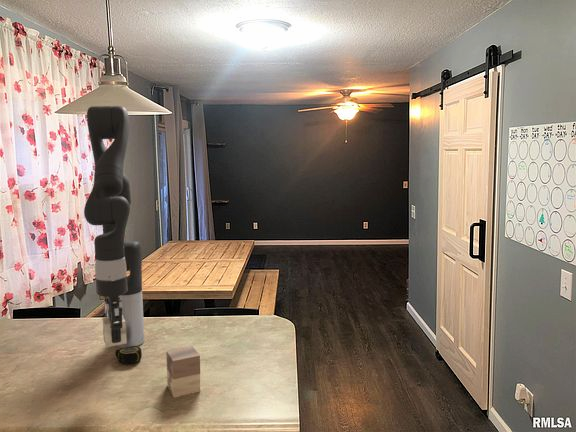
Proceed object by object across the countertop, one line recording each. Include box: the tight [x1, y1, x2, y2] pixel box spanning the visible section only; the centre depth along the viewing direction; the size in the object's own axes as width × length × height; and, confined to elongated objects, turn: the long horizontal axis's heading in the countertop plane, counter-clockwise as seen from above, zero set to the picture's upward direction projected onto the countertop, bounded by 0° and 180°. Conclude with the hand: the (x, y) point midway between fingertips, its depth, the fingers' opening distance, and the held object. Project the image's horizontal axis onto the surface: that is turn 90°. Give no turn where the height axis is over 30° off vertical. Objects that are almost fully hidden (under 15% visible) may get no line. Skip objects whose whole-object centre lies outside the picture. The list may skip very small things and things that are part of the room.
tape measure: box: [114, 345, 143, 364], centre depth 148 cm, size 7×7×4 cm
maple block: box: [101, 315, 127, 348], centre depth 129 cm, size 5×5×6 cm
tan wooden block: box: [166, 368, 201, 398], centre depth 131 cm, size 7×7×5 cm
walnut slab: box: [165, 345, 201, 379], centre depth 131 cm, size 7×7×5 cm
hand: (114, 337), depth 129 cm, fingers closed on maple block, 5 cm apart
